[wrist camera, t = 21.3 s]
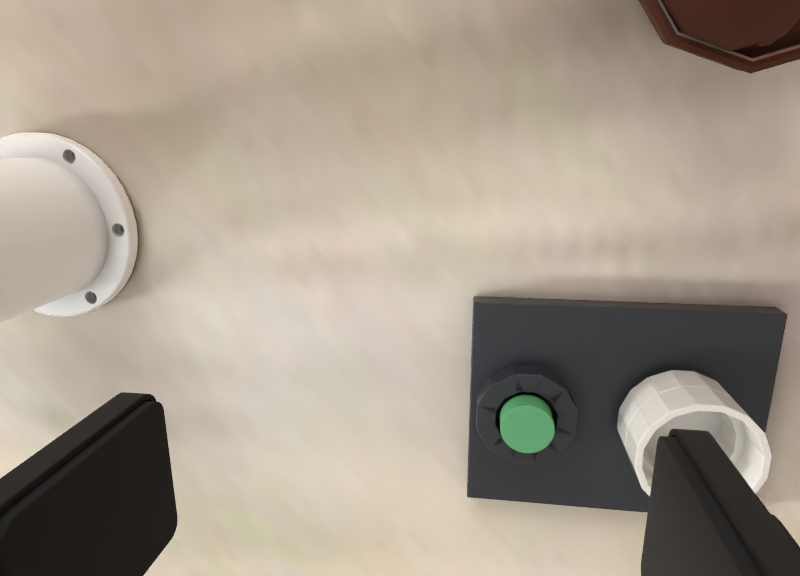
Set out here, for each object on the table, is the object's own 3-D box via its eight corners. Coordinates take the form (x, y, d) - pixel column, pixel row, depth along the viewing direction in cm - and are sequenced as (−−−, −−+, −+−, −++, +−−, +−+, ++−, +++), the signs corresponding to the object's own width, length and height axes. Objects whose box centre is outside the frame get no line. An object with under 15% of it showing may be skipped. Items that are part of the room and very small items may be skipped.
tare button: (498, 438, 36) (499, 451, 35) (501, 392, 35) (501, 403, 34) (550, 442, 36) (553, 455, 34) (553, 395, 35) (556, 407, 33)
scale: (467, 485, 40) (466, 512, 37) (473, 296, 37) (472, 310, 34) (739, 508, 38) (760, 538, 35) (776, 307, 34) (802, 323, 31)
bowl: (610, 461, 37) (629, 510, 32) (621, 364, 35) (642, 400, 30) (723, 469, 36) (759, 521, 31) (740, 370, 34) (781, 409, 29)
